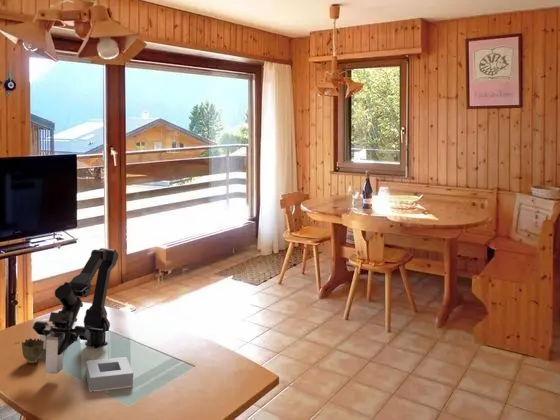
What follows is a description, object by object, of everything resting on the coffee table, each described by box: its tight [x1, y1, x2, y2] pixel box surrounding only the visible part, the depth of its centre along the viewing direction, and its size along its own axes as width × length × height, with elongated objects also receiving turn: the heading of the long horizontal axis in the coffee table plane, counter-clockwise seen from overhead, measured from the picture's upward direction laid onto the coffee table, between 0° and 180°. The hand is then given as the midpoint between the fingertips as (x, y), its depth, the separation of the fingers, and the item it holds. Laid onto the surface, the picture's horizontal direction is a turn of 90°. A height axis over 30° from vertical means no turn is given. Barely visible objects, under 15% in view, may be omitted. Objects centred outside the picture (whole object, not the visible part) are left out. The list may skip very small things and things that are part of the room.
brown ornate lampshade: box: [21, 338, 44, 365], centre depth 193 cm, size 8×7×8 cm
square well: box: [84, 356, 134, 393], centre depth 185 cm, size 14×14×5 cm
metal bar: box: [44, 332, 64, 375], centre depth 181 cm, size 4×4×13 cm
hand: (52, 353), depth 179 cm, fingers closed on metal bar, 4 cm apart
